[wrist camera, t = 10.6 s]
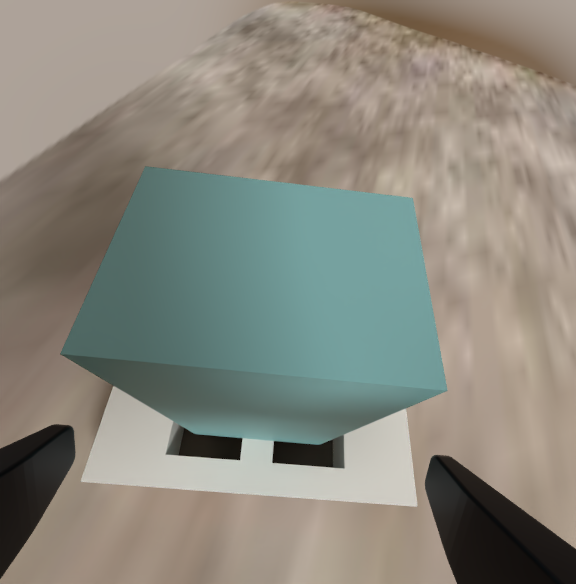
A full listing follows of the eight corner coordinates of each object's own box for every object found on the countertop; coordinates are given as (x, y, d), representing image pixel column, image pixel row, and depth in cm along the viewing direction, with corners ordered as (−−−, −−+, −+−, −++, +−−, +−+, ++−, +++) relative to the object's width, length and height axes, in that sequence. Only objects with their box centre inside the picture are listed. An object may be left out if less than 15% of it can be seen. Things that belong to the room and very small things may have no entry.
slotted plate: (395, 501, 15) (417, 506, 13) (106, 480, 15) (80, 481, 13) (381, 347, 19) (396, 331, 17) (153, 325, 19) (140, 306, 17)
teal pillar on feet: (312, 447, 16) (447, 391, 5) (201, 438, 16) (60, 353, 4) (314, 369, 18) (412, 197, 7) (216, 360, 18) (145, 166, 6)
